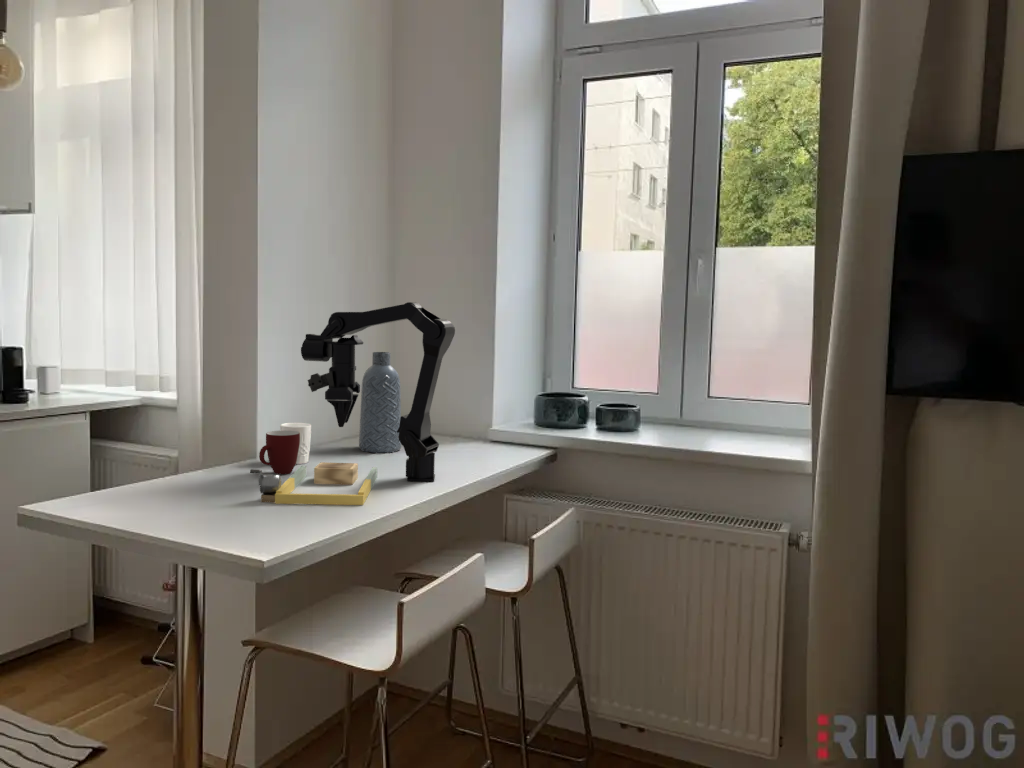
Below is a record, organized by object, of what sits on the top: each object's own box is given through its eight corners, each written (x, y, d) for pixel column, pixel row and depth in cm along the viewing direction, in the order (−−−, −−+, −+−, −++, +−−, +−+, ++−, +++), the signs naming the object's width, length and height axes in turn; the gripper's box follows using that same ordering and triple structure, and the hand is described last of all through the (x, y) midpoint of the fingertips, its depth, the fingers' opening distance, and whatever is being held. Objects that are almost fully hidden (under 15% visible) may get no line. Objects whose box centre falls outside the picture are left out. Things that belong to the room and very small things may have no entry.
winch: (281, 498, 179) (281, 467, 179) (277, 502, 175) (277, 471, 175) (253, 497, 179) (253, 467, 178) (248, 502, 175) (248, 471, 174)
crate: (357, 479, 201) (357, 462, 201) (352, 485, 194) (352, 468, 194) (320, 478, 201) (320, 461, 201) (314, 484, 194) (314, 467, 194)
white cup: (309, 458, 224) (309, 422, 223) (312, 464, 216) (312, 426, 215) (279, 459, 221) (279, 422, 220) (280, 465, 214) (281, 427, 213)
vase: (350, 449, 239) (351, 351, 236) (379, 444, 249) (380, 350, 246) (380, 455, 232) (382, 354, 230) (409, 449, 242) (411, 353, 239)
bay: (377, 477, 203) (377, 467, 203) (363, 505, 175) (363, 493, 175) (301, 475, 202) (301, 465, 202) (274, 503, 174) (275, 491, 174)
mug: (274, 479, 197) (274, 438, 196) (250, 475, 201) (250, 434, 200) (306, 472, 206) (306, 432, 205) (283, 468, 210) (283, 429, 209)
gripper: (316, 359, 214) (316, 419, 216) (303, 364, 196) (303, 430, 197) (360, 360, 215) (360, 419, 217) (351, 365, 197) (350, 430, 198)
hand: (343, 424), depth 207 cm, fingers open, 7 cm apart
